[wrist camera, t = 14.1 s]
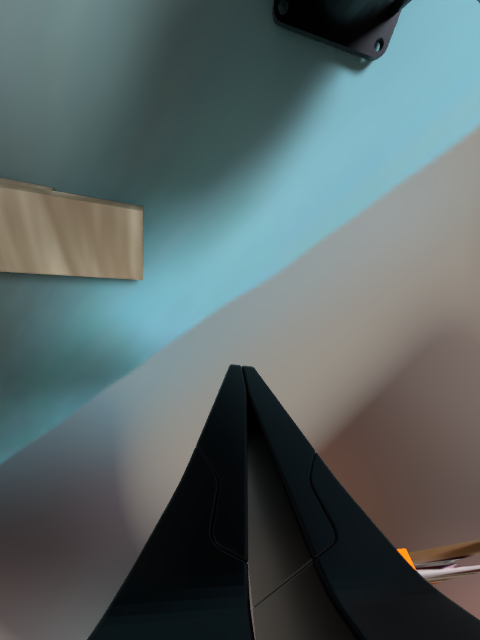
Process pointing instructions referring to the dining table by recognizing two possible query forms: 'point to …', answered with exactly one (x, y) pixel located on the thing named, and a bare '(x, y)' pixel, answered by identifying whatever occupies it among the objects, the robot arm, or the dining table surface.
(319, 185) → the dining table surface
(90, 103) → the dining table surface
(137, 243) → the domino
